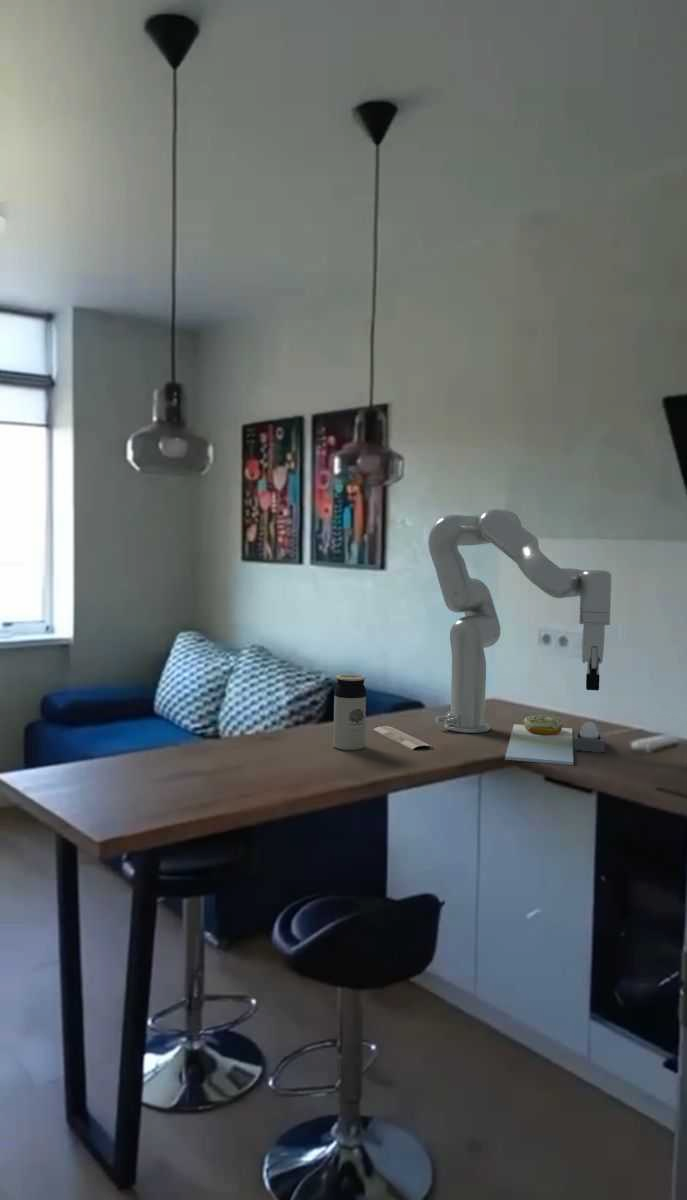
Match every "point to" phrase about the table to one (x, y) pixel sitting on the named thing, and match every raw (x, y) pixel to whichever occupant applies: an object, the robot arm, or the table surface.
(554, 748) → the white flat board
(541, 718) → the decorated donut
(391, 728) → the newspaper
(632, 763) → the table surface
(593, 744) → the dome collar
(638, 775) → the table surface
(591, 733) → the dome button
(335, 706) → the travel mug
